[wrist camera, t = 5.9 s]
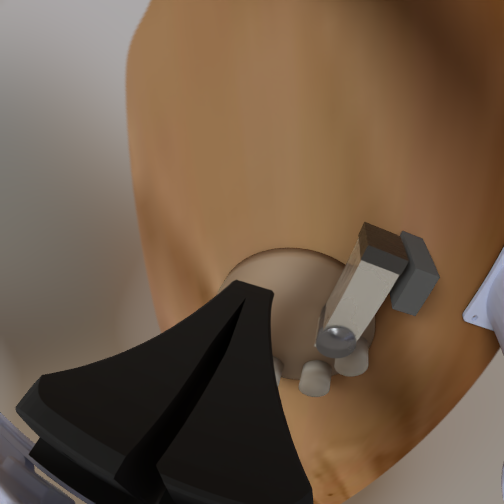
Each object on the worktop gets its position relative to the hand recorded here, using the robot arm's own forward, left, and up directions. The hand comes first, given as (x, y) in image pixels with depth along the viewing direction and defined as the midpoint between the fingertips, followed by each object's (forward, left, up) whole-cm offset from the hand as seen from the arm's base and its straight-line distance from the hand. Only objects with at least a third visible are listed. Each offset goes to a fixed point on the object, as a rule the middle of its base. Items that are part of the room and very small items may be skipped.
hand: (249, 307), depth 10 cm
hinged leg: (-5, +2, -7) cm, 8 cm away
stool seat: (-2, +7, -8) cm, 11 cm away
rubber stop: (-7, 0, -8) cm, 11 cm away
